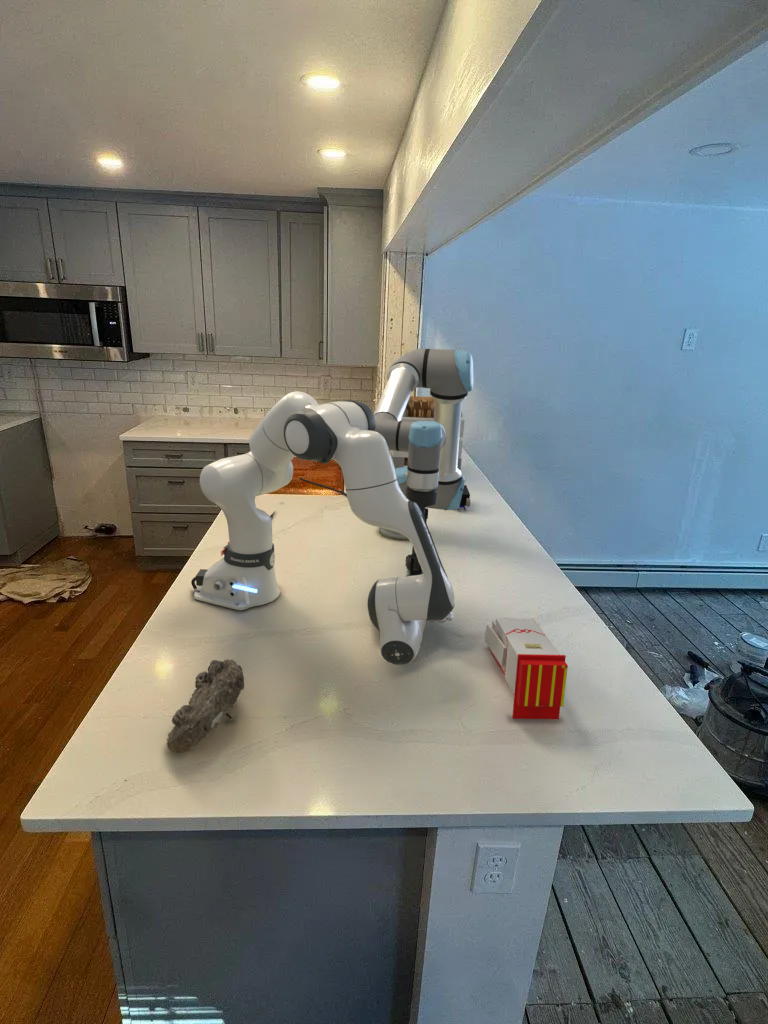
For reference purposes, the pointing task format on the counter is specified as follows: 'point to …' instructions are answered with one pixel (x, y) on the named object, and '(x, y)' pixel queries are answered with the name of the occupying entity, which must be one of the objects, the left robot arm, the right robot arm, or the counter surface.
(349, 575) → the counter surface
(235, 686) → the fossil
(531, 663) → the toy
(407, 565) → the lid
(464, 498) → the figurine character
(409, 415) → the white slatted box
